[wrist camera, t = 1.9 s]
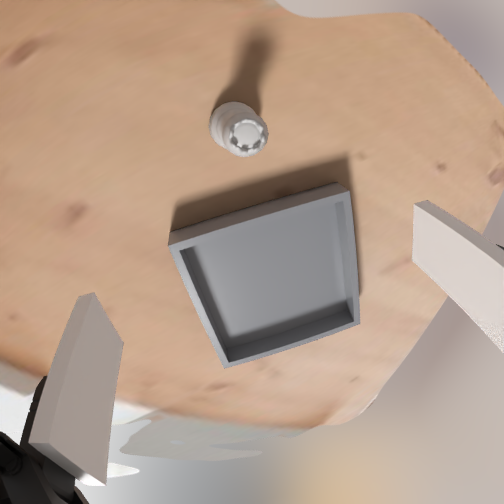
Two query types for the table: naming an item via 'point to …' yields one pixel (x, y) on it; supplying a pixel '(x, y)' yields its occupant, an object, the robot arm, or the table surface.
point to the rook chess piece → (238, 129)
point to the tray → (272, 273)
